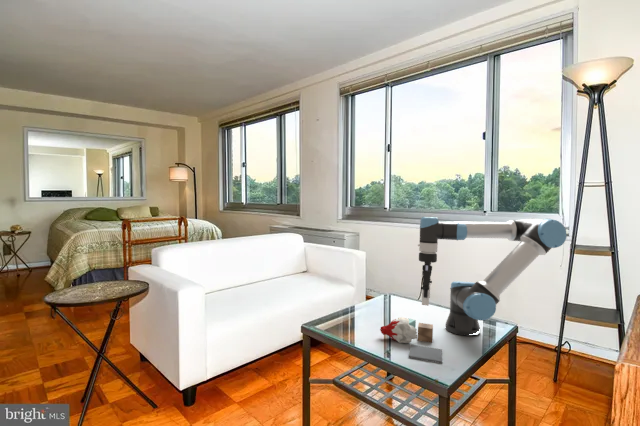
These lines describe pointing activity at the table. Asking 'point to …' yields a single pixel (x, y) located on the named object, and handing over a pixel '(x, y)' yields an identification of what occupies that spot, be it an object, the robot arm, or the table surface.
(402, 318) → the cream capsule cylinder
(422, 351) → the mat
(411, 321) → the teal block
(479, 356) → the table surface
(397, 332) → the white two-tone toothed figurine
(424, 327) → the walnut cube
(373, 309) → the table surface
